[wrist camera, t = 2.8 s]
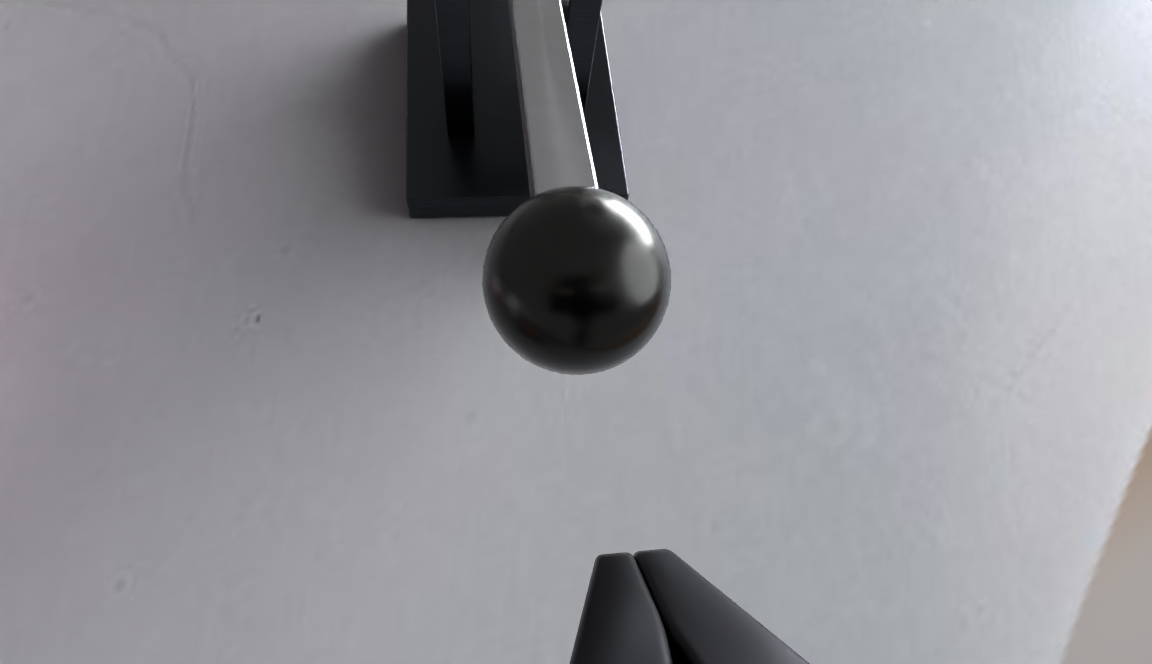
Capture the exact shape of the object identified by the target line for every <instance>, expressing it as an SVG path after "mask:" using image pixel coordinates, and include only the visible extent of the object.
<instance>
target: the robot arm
mask: <svg viewBox="0 0 1152 664" xmlns="http://www.w3.org/2000/svg"><path fill="white" fill-rule="evenodd" d="M570 664H809V663H808V662H807V661H806V660H805V659H803V658H802V657H801V656H800V655H798V654H797V653H796V652H795V651H793V650H792V649H791V648H790V647H789V646H787V645H786V644H785V643H784V642H782V641H781V640H780V639H779V638H777V637H776V636H775V635H774V634H773V633H771V632H770V631H769V630H768V629H766V628H765V627H764V626H763V625H762V624H760V623H759V622H758V621H757V620H755V619H754V618H753V617H752V616H750V615H749V614H748V613H747V612H746V611H744V610H743V609H742V608H741V607H739V606H738V605H737V604H736V603H735V602H733V601H732V600H731V599H730V598H728V597H727V596H726V595H725V594H723V593H722V592H721V591H720V590H719V589H717V588H716V587H715V586H714V585H712V584H711V583H710V582H709V581H708V580H706V579H705V578H704V577H703V576H701V575H700V574H699V573H698V572H696V571H695V570H694V569H693V568H692V567H690V566H689V565H688V564H687V563H685V562H684V561H683V560H682V559H681V558H679V557H678V556H677V555H676V554H674V553H673V552H672V551H670V550H667V549H659V550H648V551H639V552H636V553H635V554H634V556H633V555H631V554H630V553H626V552H625V553H613V554H602V555H599V556H598V557H597V558H596V560H595V563H594V567H593V571H592V575H591V579H590V583H589V587H588V592H587V596H586V600H585V604H584V608H583V612H582V616H581V620H580V624H579V628H578V632H577V636H576V640H575V644H574V648H573V652H572V656H571V660H570Z"/></svg>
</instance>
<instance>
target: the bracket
mask: <svg viewBox="0 0 1152 664" xmlns="http://www.w3.org/2000/svg"><path fill="white" fill-rule="evenodd" d="M561 4H562V9H563V14H564V19H565V24H566V29H567V34H568V39H569V44H570V49H571V54H572V59H573V63H574V68H575V73H576V78H577V83H578V88H579V93H580V98H581V103H582V108H583V113H584V118H585V123H586V128H587V133H588V138H589V143H590V148H591V153H592V158H593V163H594V168H595V173H596V178H597V183H598V188H599V189H603V190H606V191H609V192H612V193H614V194H617V195H619V196H620V197H622V198H624V199H626V200H627V201H628V197H629V191H628V184H627V178H626V171H625V164H624V158H623V151H622V145H621V138H620V132H619V125H618V118H617V112H616V105H615V99H614V92H613V86H612V79H611V73H610V66H609V59H608V53H607V46H606V40H605V33H604V27H603V20H602V14H601V5H602V0H561ZM528 199H530V192H529V183H528V174H527V165H526V156H525V147H524V138H523V129H522V120H521V112H520V103H519V94H518V85H517V76H516V67H515V58H514V49H513V40H512V32H511V23H510V14H509V5H508V0H407V116H406V201H407V206H408V211H409V216H410V218H444V217H486V216H508V215H509V214H510V213H511V212H512V211H513V210H515V209H516V208H517V207H518V206H519V205H520V204H522V203H523V202H525V201H526V200H528Z"/></svg>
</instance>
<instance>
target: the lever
mask: <svg viewBox="0 0 1152 664" xmlns="http://www.w3.org/2000/svg"><path fill="white" fill-rule="evenodd" d="M508 5H509V14H510V23H511V32H512V40H513V49H514V58H515V67H516V76H517V85H518V94H519V103H520V112H521V120H522V129H523V138H524V147H525V156H526V165H527V174H528V183H529V192H530V199H528V200H526V201H525V202H523V203H522V204H520V205H519V206H518V207H517V208H516V209H515V210H513V211H512V212H511V213H510V214H509V215H508V216H507V217H506V219H505V220H504V221H503V222H502V224H501V225H500V226H499V228H498V229H497V231H496V232H495V234H494V236H493V238H492V240H491V242H490V245H489V247H488V250H487V253H486V257H485V262H484V266H483V284H482V285H483V292H484V299H485V304H486V307H487V310H488V313H489V316H490V318H491V320H492V322H493V324H494V326H495V328H496V330H497V331H498V333H499V334H500V336H501V337H502V338H503V340H504V341H505V342H506V343H507V344H508V345H509V346H510V347H511V348H512V349H513V350H514V351H515V352H516V353H517V354H519V355H520V356H521V357H522V358H524V359H525V360H527V361H529V362H530V363H532V364H534V365H536V366H538V367H541V368H543V369H546V370H549V371H552V372H557V373H561V374H570V375H582V374H592V373H597V372H601V371H605V370H608V369H611V368H613V367H615V366H617V365H619V364H621V363H623V362H625V361H627V360H628V359H630V358H631V357H632V356H634V355H635V354H636V353H637V352H639V351H640V350H641V349H642V348H643V347H644V346H645V345H646V344H647V343H648V342H649V340H650V339H651V338H652V337H653V335H654V334H655V332H656V331H657V329H658V327H659V325H660V324H661V322H662V320H663V317H664V314H665V312H666V309H667V306H668V302H669V296H670V290H671V269H670V264H669V259H668V254H667V251H666V248H665V246H664V243H663V241H662V239H661V237H660V235H659V233H658V231H657V230H656V228H655V227H654V226H653V224H652V223H651V222H650V220H649V219H648V218H647V217H646V216H645V215H644V213H643V212H642V211H640V210H639V209H638V208H637V207H635V206H634V205H633V204H632V203H630V202H629V201H627V200H626V199H624V198H622V197H620V196H619V195H617V194H614V193H612V192H609V191H606V190H603V189H599V188H598V183H597V178H596V173H595V168H594V163H593V158H592V153H591V148H590V143H589V138H588V133H587V128H586V123H585V118H584V113H583V108H582V103H581V98H580V93H579V88H578V83H577V78H576V73H575V68H574V63H573V59H572V54H571V49H570V44H569V39H568V34H567V29H566V24H565V19H564V14H563V9H562V4H561V0H508Z"/></svg>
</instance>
